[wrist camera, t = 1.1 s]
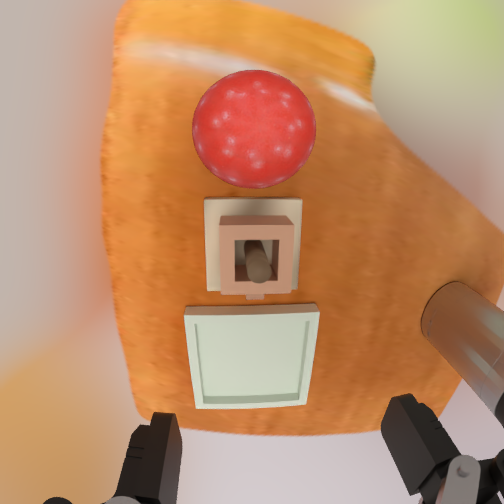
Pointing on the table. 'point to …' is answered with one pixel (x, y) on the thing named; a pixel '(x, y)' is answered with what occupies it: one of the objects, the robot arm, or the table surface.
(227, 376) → the tray
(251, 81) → the stacking toy
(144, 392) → the table surface
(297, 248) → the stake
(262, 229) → the collar
